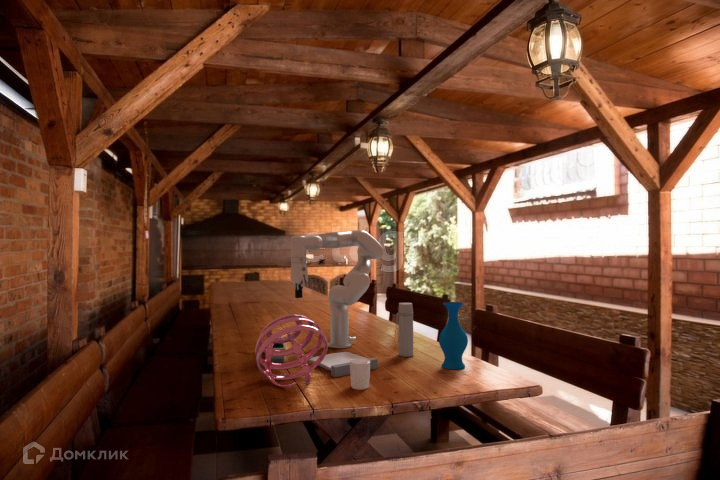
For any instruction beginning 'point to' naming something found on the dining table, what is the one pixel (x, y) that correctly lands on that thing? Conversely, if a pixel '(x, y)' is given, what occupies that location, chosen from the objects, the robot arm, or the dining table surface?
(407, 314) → the water bottle
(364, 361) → the white cup
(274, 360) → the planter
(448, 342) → the vase
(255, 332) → the dining table surface
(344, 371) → the rail
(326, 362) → the salad plate
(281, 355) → the spiral basket
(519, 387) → the dining table surface
